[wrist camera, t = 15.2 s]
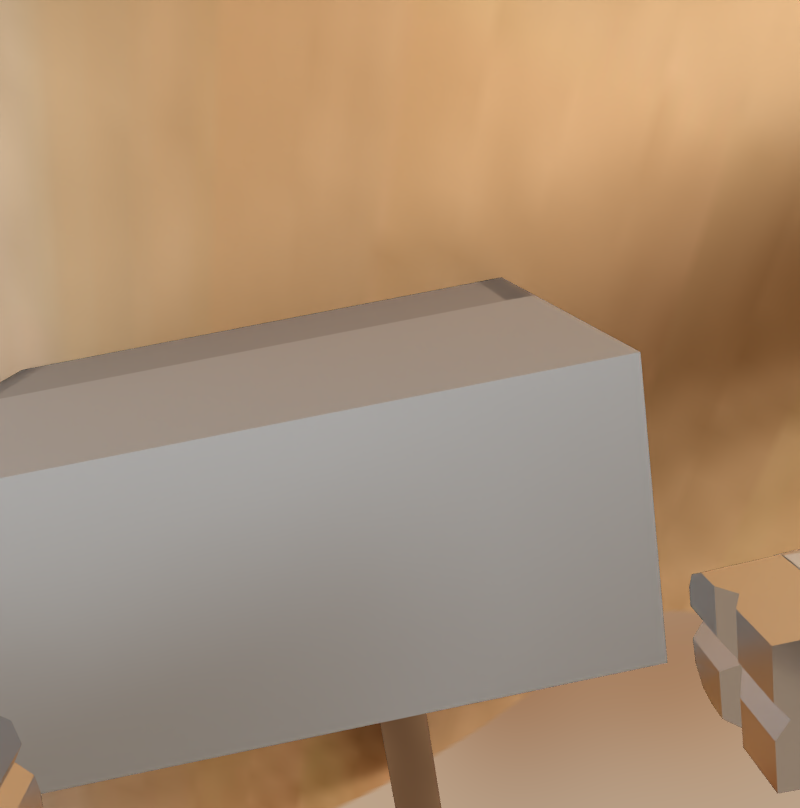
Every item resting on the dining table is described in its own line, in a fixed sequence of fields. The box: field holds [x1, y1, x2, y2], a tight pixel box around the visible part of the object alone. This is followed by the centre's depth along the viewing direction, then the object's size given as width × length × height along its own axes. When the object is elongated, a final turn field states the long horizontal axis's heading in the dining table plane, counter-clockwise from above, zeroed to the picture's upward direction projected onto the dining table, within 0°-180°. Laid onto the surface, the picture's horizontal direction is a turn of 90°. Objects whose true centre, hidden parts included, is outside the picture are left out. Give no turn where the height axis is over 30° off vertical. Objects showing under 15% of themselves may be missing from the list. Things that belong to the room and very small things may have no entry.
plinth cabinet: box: [0, 277, 667, 794], centre depth 30 cm, size 24×12×18 cm, turn 100°
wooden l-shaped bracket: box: [380, 713, 441, 808], centre depth 40 cm, size 10×14×5 cm
